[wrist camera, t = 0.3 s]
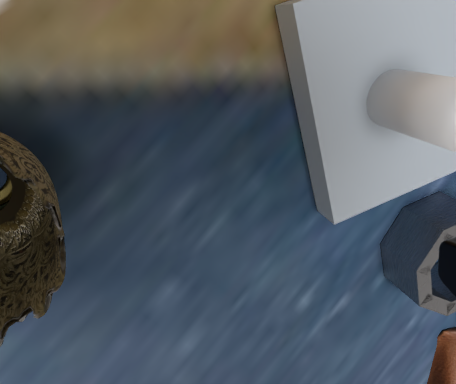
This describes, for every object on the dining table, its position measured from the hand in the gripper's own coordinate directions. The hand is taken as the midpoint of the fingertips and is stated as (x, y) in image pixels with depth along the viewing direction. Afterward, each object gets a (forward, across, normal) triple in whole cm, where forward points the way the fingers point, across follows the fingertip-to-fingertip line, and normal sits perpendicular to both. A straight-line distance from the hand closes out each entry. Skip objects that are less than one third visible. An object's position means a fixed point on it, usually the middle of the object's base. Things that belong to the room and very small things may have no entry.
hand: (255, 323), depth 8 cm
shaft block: (+14, -12, 0) cm, 19 cm away
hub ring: (+14, -17, +12) cm, 25 cm away
